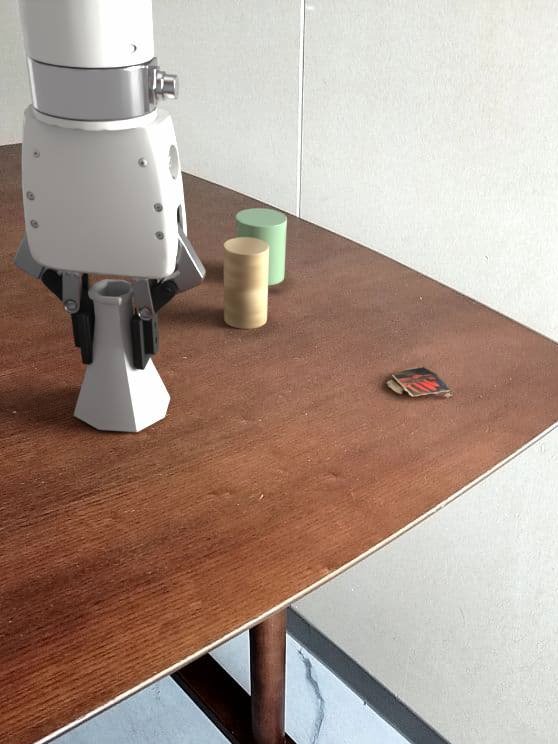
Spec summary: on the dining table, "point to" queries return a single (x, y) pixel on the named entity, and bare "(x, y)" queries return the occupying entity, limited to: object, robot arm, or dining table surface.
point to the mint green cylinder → (266, 236)
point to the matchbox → (419, 382)
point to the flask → (118, 368)
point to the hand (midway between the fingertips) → (118, 356)
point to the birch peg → (245, 282)
